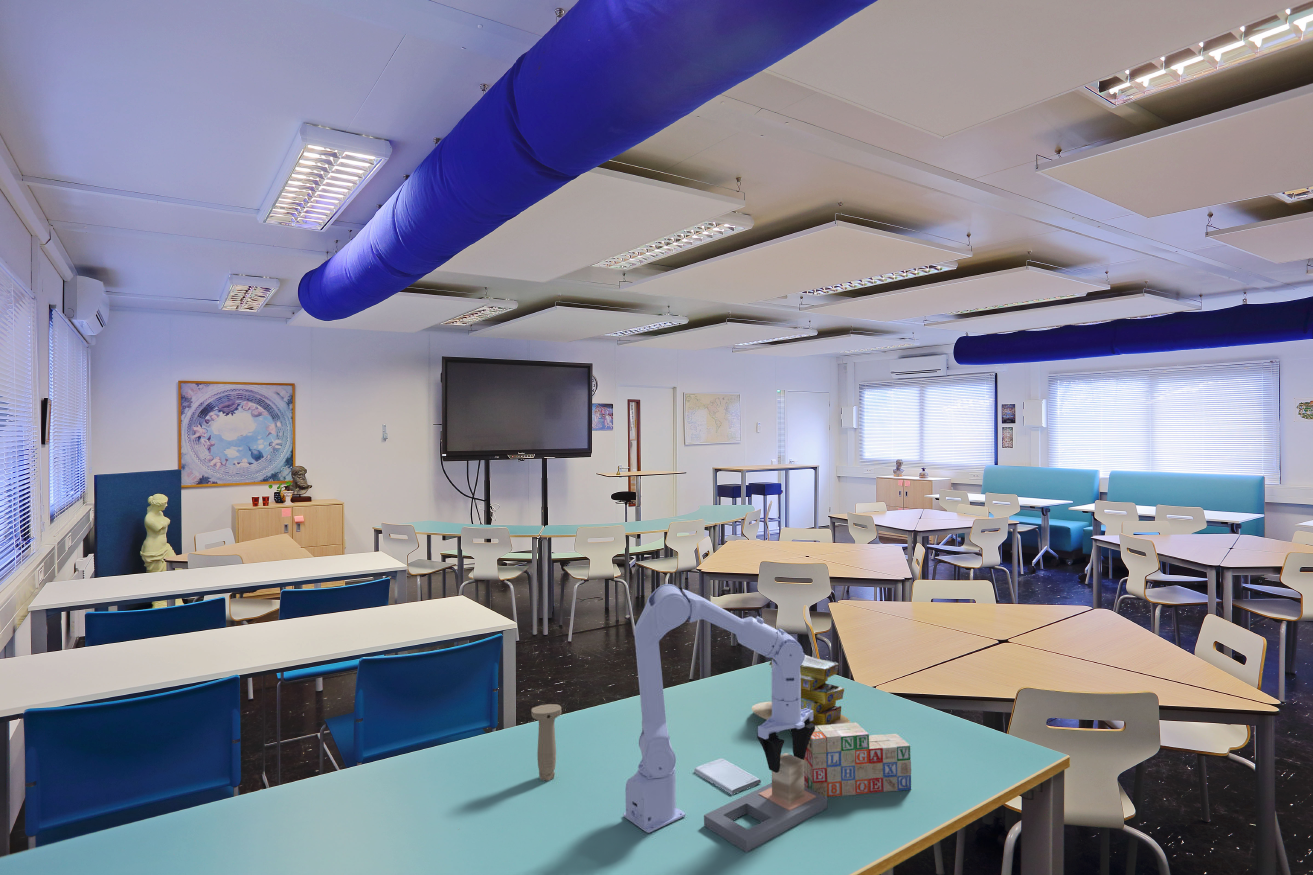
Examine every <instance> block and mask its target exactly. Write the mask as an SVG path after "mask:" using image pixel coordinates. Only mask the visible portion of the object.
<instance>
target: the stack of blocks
mask: <svg viewBox="0 0 1313 875" xmlns="http://www.w3.org/2000/svg"><path fill="white" fill-rule="evenodd" d="M911 757H912V756H911V745H910V744H909V743H908V742H907V741H906V740H905V739H903V738H902V737H901V736H900V735H898V734H897V733H887V734H871V735H870V733H868V732H867V731H866V730H865V729H864V728H863V727H862V726H860V724H858V722H850V723H844V724H831V725H819V726H815V731H814V732H813V734H812V736H811V738H810V740H809V743H808V746H807V750H806V754H805V758H804V787H806V788H808V789H810V790H813V791H815V792H817V793H819V794H821V795H823V796H825V797H827V798H828V797H829V798H830V797H840V796H854V795H861V794H871V793H872V794H873V793H882V792H884V793H887V792H895V791H896V792H899V791H901V792H902V791H910V790H912V761H911V760H912V759H911Z"/></svg>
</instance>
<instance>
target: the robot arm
mask: <svg viewBox="0 0 1313 875" xmlns="http://www.w3.org/2000/svg"><path fill="white" fill-rule="evenodd" d="M687 620H688V622H689V623H694V622H697V621H699V620H703V621H706V622H709V623H711V624H713V625H715V626H717V627H718V628H721V629H724V630H726V631H728V632H730V633H732V634H735V635H736V636H735V637H736V639H737V641H738V643H739V644H740V645H742V646H744V647H745V648H747V649H749V650H752V651H754V652H755V653H758V654H760V655H762V656H764V657H765V658H771V660H772V668H771V702H772V716H771V717H770V718H769V719H768V720H767V719H766V720H765V721H764V722H763V723H762V724H761V725H759V726H757V732H756V739H757V740H758V741H759V743H760V745H761V747H762V749H763V753H764V755H765V758H766V762H767V765H768V766H767V767H768V770H770V771H771V772H772V771H773V772H776V773H777V772H779V769H780V757H781V755H782V750H783V747H784V744H785V739H783V738H780V737H779V735H777V733H780V732H782V731H785V730H789V731H790V735H791V741H792V742H791V743H792V755H793V756H795V757H797V758H800V759H802V760H804V758H805V754H806V750H807V746H808V743H809V740H810V738H811V736H812V734H813V732H814V731H815V725H814V724H813V723H810V722H809V721H812V720H813V711H812V710H810V709H807V708H804V709H801V674H800V666H801V665H802V663H803V661H804V659H805V655H806V653H804V649H803V646H802V645H801V643H800V642H799V641H797V640H796V639H795V638H794V636H792V635H790V633H789V634H788V632H787V631H784V630H783V629H782V628H778V629H776V628H775V627H773V626H771V625H769V624H766V623H765V620H764V619H763V618H762V617H761V616H758V615H757V616H756V617H753V616H748V617H744V618H740V617H739V616H737V615H735V614H733V613H731V612H729V611H728V610H726V609H724V608H723V607H720V606H719V605H717V604H716V603H714V602H712V601H710V600H708V599H706V598H704V597H702V596H701V595H699V594H696V593H694V592H692V591H690V590H688V589H687V590H686V589H683V588H682V589H680V588H679V587H678V586H677V585H675V584H670V583H667V584H666V583H665V584H663V585H662V584H661V585H659V587H657V588H656V589H655V590H654V591H653V592H652V593H651V594H650V595H649V596H648V597H647V601H646V603H645V605H644V608H643V610H642V612H641V614H640V616H639V617H638V620H637V622H636V623H635V626H634V630H633V631H634V632H633V634H634V644H635V653H636V654H635V656H636V666H637V675H638V676H637V677H638V678H637V679H638V689H639V698H640V708H641V732H640V734H639V738H638V746H639V749H640V752H641V760H640V762H639V763H638V766H637V767H638V769H637V771H636V772H635V773H634V775H632V776H631V777H629V778H628V779H627V780H626V782H625V812H624V813H623V817H624V818H625V819H627V820H628V821H629V822H631V823H632V824H634V825H636V826H637V827H638V828H640V829H641V830H643V831H644V832H645V833H648V834H650V833H652V832H654V831H656V830H658V829H660V828H662V827H665V826H667V825H668V824H671V823H673V822H676V821H679V819H680V820H681V818H684V817H685V816H686V813H685V812H684V811H683V810H681V809H679V808H678V807H677V806H676V805H677V804H676V803H677V802H676V801H677V799H676V798H677V797H676V764H677V763H676V762H677V759H676V758H677V757H676V753H675V752H674V750H673V746H672V744H671V739H670V738H671V737H670V735H669V734H670V733H669V732H668V725H667V717H666V715H667V714H666V706H665V693H664V684H663V673H662V663H661V653H660V641H661V640H662V638H663V637H664V636H665V635H666V634H667V633H668V632H669V631H672V630H673V629H676V628H677V627H679V626H681V625H682V624H684V623H685V622H686V621H687ZM772 658H773V659H772ZM774 659H775V660H774Z"/></svg>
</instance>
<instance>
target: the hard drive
mask: <svg viewBox="0 0 1313 875" xmlns="http://www.w3.org/2000/svg"><path fill="white" fill-rule="evenodd" d="M694 773H695V774H696V775H698V776H700V777H701V778H703V779H704V778H705V779H704V780H706V781H708V782H709V781H710V783H711V782H712V783H711V784H713V783H714V784H716V785H717V786H720V787H721V788H722V789H724V790H725V791H727V792H729V793H730V794H732V795H731V796H734V795H733V794H734V793H737V792H740V791H742V790H744V791H746V790H745V789H747V788H749V787H752V788H754V787H756V786H755V785H757V784H759V783H761V784H762V781H761V779H760V778H758V777H756V776H755V775H753V774H751V773H749V772H747V771H746V770H744V769H742V768H741V767H739V766H737V765H736V764H733V763H731V762H730V761H728V760H726V759H724V758H718V759H716V760H712V761H709V762H707V763H704V764H701V765H699V766H696V767H695V768H694ZM714 784H713V785H714ZM716 785H715V786H716ZM759 785H760V784H759ZM717 786H716V787H717ZM753 786H754V787H753ZM757 786H758V785H757ZM721 788H720V789H721ZM722 789H721V790H722ZM749 789H750V788H749ZM724 790H723V791H724ZM747 790H748V789H747ZM725 791H724V792H725ZM727 792H726V793H727ZM742 792H743V791H742ZM729 793H728V794H729ZM740 793H741V792H740ZM730 794H729V795H730ZM737 794H738V793H737Z"/></svg>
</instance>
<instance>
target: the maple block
mask: <svg viewBox="0 0 1313 875" xmlns="http://www.w3.org/2000/svg"><path fill="white" fill-rule="evenodd" d="M771 783H772V795H774V796H776V797H778V798H780V799H782V800H784V801H786V802H788V803H792V802H794V801H795V800H797V799H799V798H801V797H803V796H804V787H805V785H804V760H802V759H800V758H797V757H795V756H794V755H793V754H790V753H788V752H784V753H781V757H780V769H779V772H777V773H776V772H773V771H771Z"/></svg>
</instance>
